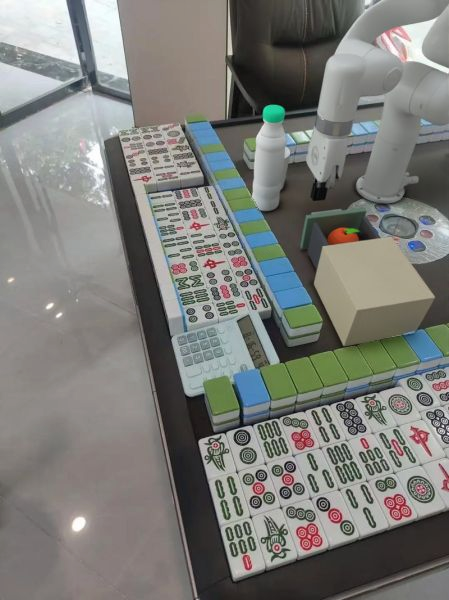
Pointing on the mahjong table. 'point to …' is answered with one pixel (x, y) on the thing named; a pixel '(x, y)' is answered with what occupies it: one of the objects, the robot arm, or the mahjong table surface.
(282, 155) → the water bottle
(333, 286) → the cabinet
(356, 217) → the drawer
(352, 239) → the clementine
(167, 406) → the mahjong table surface
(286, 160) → the white cup
